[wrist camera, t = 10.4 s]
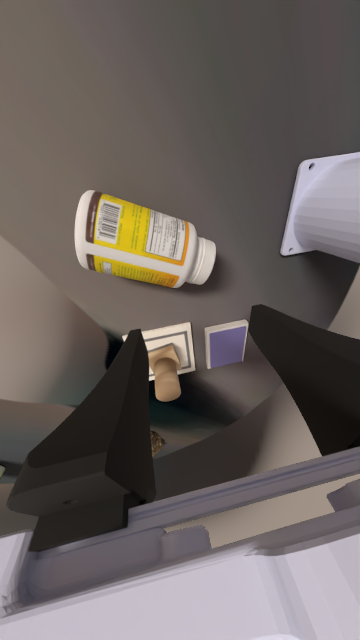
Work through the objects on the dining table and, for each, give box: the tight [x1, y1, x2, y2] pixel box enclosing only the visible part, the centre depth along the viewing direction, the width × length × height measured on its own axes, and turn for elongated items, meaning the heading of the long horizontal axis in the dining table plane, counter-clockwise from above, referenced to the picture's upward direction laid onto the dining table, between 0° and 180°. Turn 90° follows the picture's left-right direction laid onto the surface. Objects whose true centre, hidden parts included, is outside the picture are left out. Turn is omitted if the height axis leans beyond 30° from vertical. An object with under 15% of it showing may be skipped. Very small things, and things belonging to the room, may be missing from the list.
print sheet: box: [123, 322, 195, 381], centre depth 26 cm, size 9×10×1 cm
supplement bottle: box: [75, 190, 216, 288], centre depth 15 cm, size 6×6×10 cm
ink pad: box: [205, 319, 248, 369], centre depth 27 cm, size 6×8×1 cm
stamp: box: [148, 343, 182, 401], centre depth 23 cm, size 4×4×6 cm
